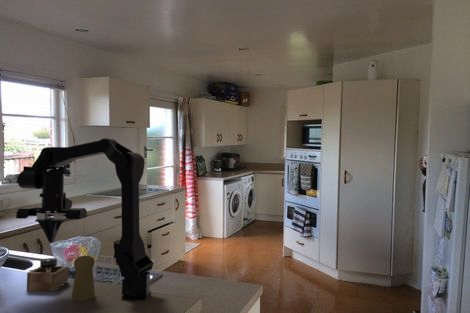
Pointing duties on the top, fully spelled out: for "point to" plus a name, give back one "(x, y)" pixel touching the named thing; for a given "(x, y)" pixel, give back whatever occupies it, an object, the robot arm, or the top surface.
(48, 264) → the plunger
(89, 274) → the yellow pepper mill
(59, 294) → the top surface
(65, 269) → the wooden box
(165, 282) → the top surface
